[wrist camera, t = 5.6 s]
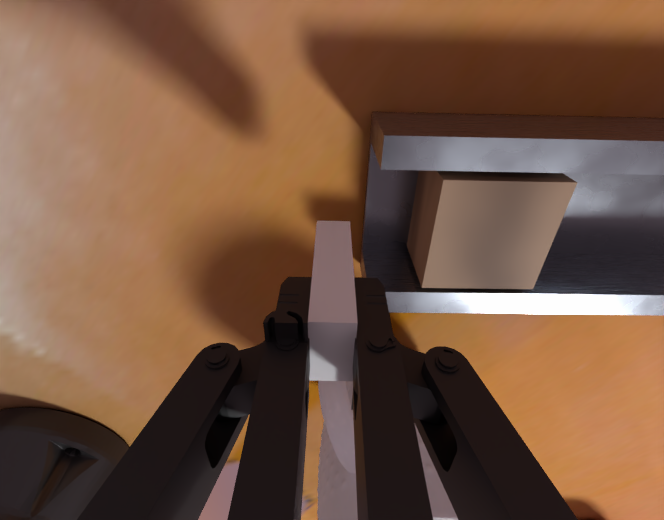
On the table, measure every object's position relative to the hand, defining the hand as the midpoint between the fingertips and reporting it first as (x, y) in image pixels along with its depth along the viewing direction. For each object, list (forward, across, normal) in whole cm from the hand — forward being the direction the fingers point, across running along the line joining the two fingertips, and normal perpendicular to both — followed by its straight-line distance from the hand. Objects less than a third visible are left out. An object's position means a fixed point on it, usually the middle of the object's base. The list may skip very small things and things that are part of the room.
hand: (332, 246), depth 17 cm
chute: (+7, +14, 0) cm, 15 cm away
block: (+6, +8, 0) cm, 10 cm away
